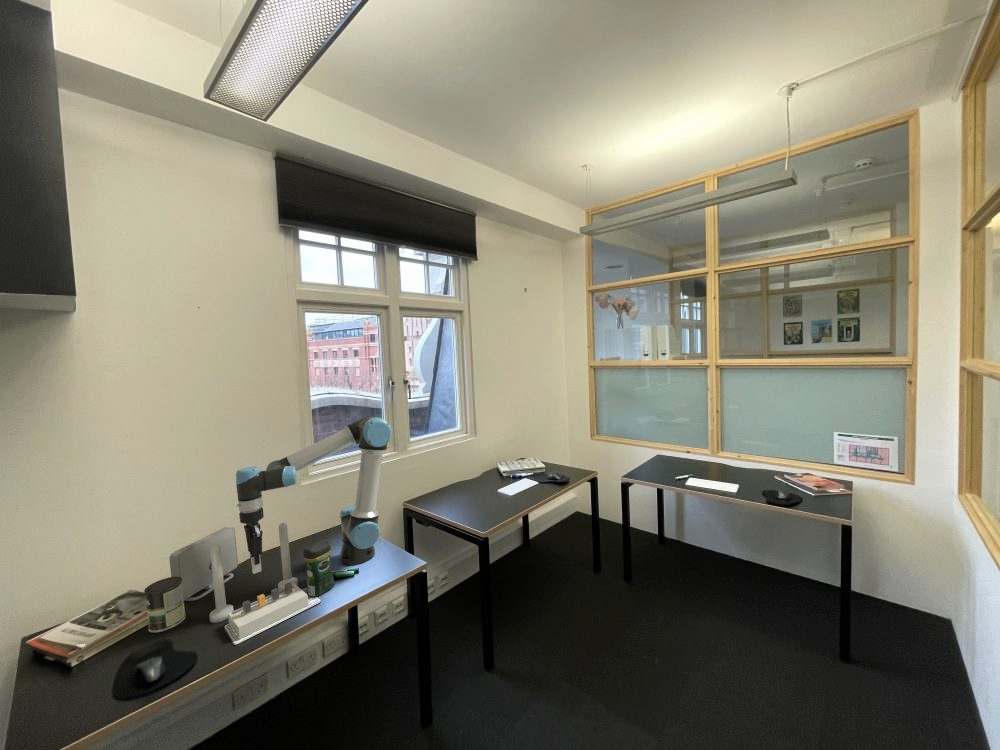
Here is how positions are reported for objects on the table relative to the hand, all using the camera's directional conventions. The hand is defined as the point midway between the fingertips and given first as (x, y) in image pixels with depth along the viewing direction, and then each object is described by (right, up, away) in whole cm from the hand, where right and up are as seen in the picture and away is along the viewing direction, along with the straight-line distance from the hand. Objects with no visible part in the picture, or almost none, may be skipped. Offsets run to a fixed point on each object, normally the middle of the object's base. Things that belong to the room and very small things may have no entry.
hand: (256, 571), depth 149 cm
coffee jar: (+21, -11, +7) cm, 24 cm away
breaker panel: (+9, -12, -7) cm, 16 cm away
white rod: (+6, -12, +11) cm, 17 cm away
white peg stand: (-9, -13, -6) cm, 17 cm away
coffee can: (-27, -15, -7) cm, 32 cm away
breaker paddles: (+8, -7, -7) cm, 13 cm away
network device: (-29, -14, +15) cm, 36 cm away
